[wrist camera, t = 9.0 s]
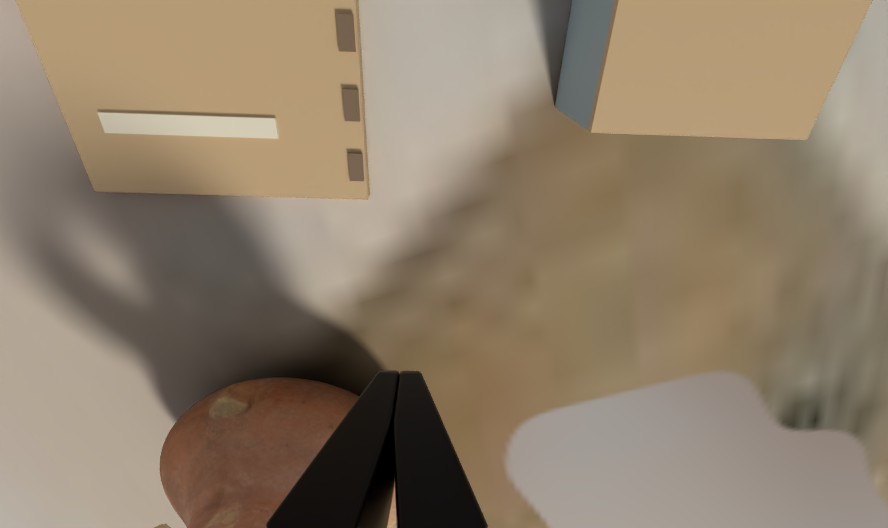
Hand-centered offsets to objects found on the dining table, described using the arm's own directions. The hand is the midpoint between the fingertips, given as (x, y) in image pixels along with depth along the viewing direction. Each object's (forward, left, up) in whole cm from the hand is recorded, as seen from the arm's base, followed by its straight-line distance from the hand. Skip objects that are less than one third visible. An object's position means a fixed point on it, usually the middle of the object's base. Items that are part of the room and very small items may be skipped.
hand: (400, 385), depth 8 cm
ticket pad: (+8, -6, -12) cm, 16 cm away
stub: (-9, -6, -12) cm, 16 cm away
